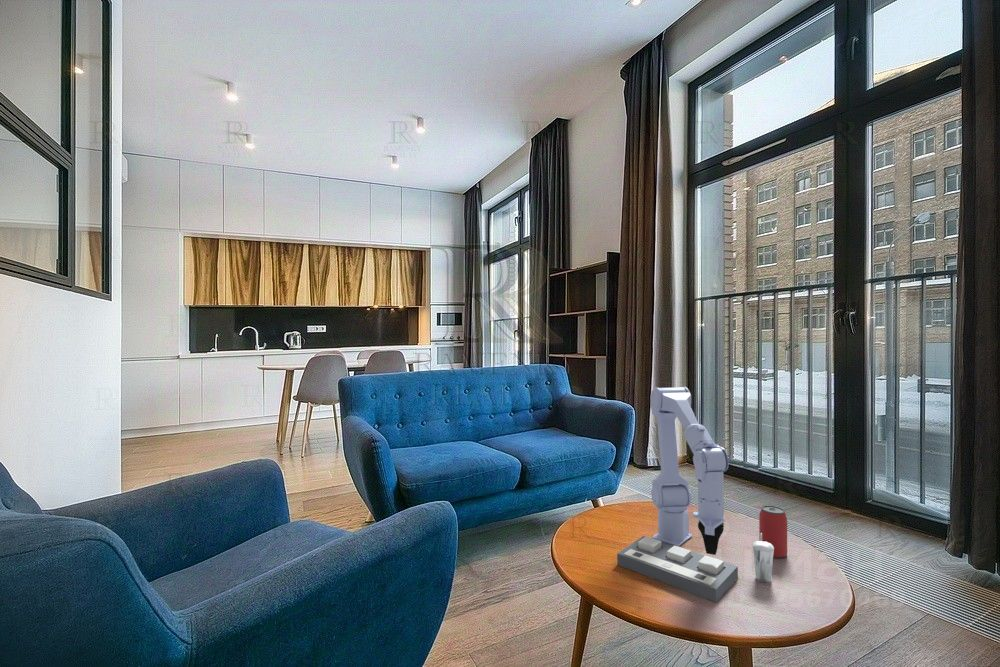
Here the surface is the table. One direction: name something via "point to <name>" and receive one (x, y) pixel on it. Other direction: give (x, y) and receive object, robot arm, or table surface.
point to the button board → (678, 571)
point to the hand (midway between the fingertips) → (711, 553)
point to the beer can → (774, 529)
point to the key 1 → (649, 544)
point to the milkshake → (763, 560)
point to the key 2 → (711, 565)
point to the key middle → (679, 554)
